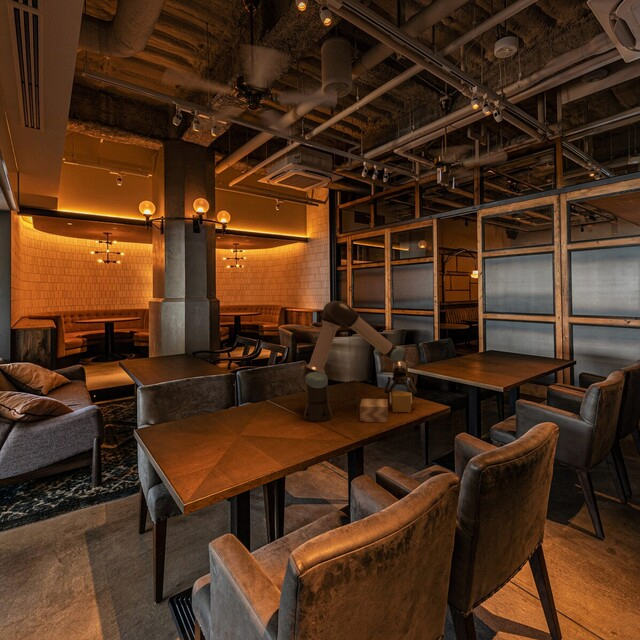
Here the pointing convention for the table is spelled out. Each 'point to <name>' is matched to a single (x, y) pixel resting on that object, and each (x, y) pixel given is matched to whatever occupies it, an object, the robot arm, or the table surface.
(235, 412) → the table surface
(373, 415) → the chevron patterned block
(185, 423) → the table surface
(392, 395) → the cheese
